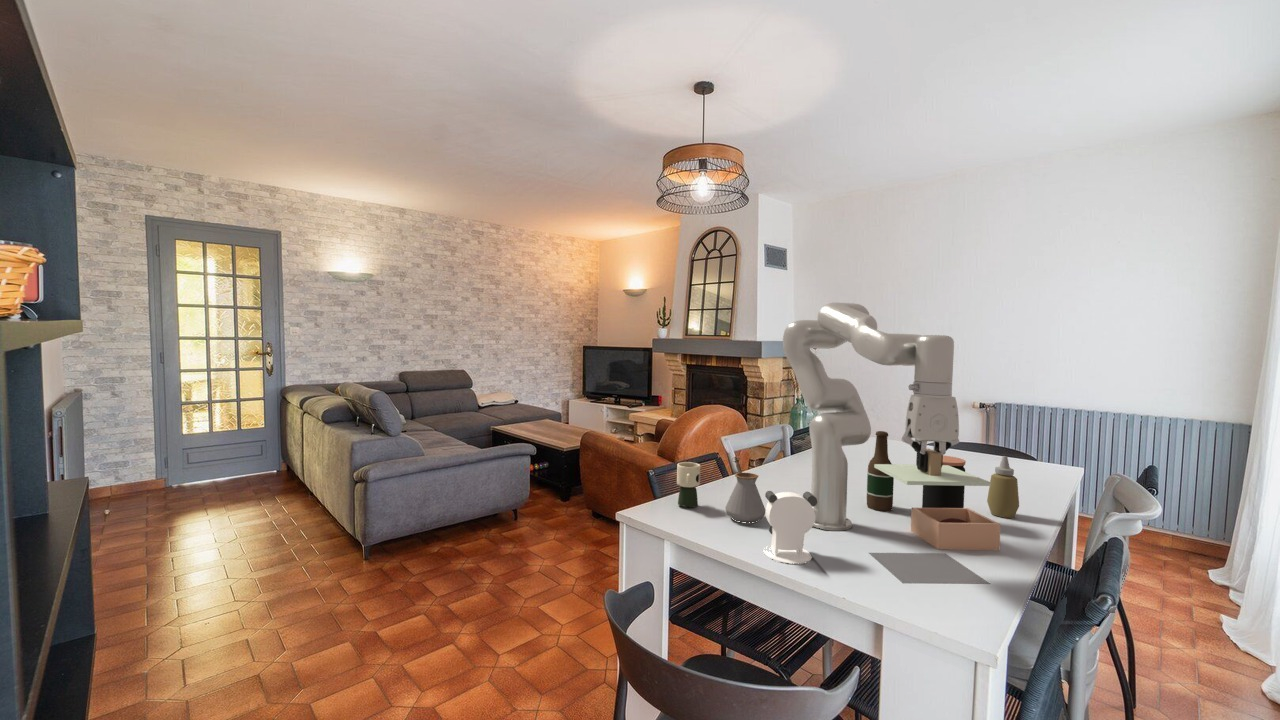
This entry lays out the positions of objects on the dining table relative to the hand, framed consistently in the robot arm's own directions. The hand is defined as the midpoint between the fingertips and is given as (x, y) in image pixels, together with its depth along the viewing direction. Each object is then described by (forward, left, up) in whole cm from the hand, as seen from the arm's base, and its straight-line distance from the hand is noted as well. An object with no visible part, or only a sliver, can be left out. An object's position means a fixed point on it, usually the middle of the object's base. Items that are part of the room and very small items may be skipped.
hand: (929, 469), depth 120 cm
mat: (0, 0, -23) cm, 23 cm away
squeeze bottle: (+46, +39, -23) cm, 65 cm away
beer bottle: (+11, +45, -23) cm, 52 cm away
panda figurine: (-29, +8, -23) cm, 38 cm away
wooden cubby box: (+17, +17, -23) cm, 33 cm away
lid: (0, 0, -1) cm, 1 cm away
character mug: (-49, +44, -23) cm, 70 cm away
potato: (+17, +17, -23) cm, 33 cm away
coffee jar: (+25, +35, -23) cm, 49 cm away
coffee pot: (-34, +38, -23) cm, 56 cm away
